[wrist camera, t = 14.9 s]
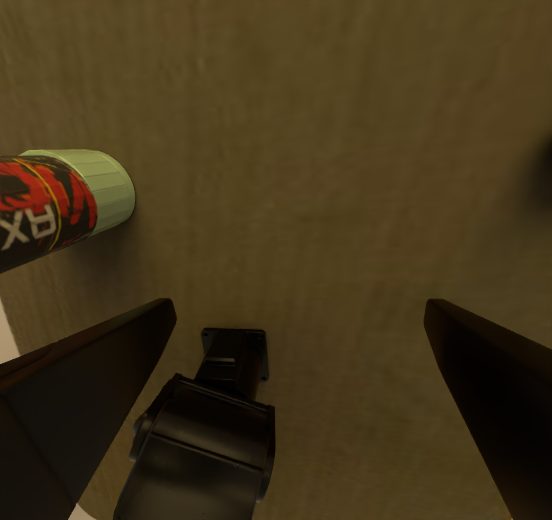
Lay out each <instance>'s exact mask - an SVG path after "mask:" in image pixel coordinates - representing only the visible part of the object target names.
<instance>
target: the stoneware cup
mask: <svg viewBox="0 0 552 520" xmlns="http://www.w3.org/2000/svg"><path fill="white" fill-rule="evenodd" d="M26 155H44V156H49V157H54V158H56V159H59V160H61V161H63V162H65V163H67V164H68V165H69V166H71V167H72V168H73V169H75V170H76V171H77V172H78V173H79V174H80V175H81V177H82V178H83V179H84V180H85V181H86V183H87V184H88V186H89V188H90V189H91V191H92V193H93V195H94V198H95V201H96V204H97V212H98V218H97V224H96V227H95V229H94V231H93V233H92V234H91V235H90V236H92V235H95V234H97V233H100V232H102V231H105V230H107V229H109V228H112V227H114V226H117V225H119V224H121V223H123V222H125V221H126V220H127V219H128V218H129V217H130V215H131V214H132V212H133V210H134V206H135V190H134V187H133V184H132V181H131V179H130V177H129V175H128V174H127V172H126V171H125V169H124V168H123V167H122V166H121V165H120V164H119V163H118V162H117V161H116V160H115V159H113V158H112V157H110V156H109V155H107V154H105V153H103V152H100V151H96V150H29V151H27V152H24V153H22V154H20V155H18V156H26ZM90 236H89V237H90Z"/></svg>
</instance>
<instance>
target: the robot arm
mask: <svg viewBox="0 0 552 520" xmlns="http://www.w3.org/2000/svg"><path fill="white" fill-rule="evenodd" d="M176 321H177V316H176V312H175V309H174V305H173V302H172V300H171V299H170V298H159V299H157V300H154V301H152V302H149V303H147V304H145V305H142V306H140V307H138V308H135V309H133V310H130V311H128V312H126V313H123V314H121V315H119V316H116V317H114V318H111V319H109V320H107V321H104V322H102V323H99V324H97V325H95V326H92V327H90V328H88V329H85V330H83V331H80V332H78V333H76V334H73V335H71V336H69V337H66V338H64V339H61V340H59V341H57V342H54V343H52V344H49V345H47V346H45V347H42V348H40V349H37V350H35V351H32V352H30V353H28V354H25V355H23V356H20V357H18V358H15V359H12V360H10V361H8V362H5V363H2V364H0V520H68V518H69V517H70V515H71V513H72V511H73V510H74V508H75V506H76V503H77V502H78V501H79V499H80V497H81V495H82V494H83V492H84V490H85V488H86V487H87V485H88V483H89V481H90V480H91V478H92V476H93V475H94V473H95V471H96V469H97V468H98V466H99V464H100V462H101V461H102V459H103V457H104V455H105V454H106V452H107V450H108V448H109V447H110V445H111V443H112V441H113V440H114V438H115V436H116V434H117V433H118V431H119V429H120V427H121V426H122V424H123V422H124V420H125V419H126V417H127V415H128V413H129V412H130V410H131V408H132V407H133V405H134V403H135V401H136V400H137V398H138V396H139V394H140V393H141V391H142V389H143V387H144V386H145V384H146V382H147V380H148V379H149V377H150V375H151V373H152V372H153V370H154V368H155V366H156V365H157V363H158V361H159V359H160V357H161V355H162V353H163V351H164V349H165V347H166V344H167V342H168V340H169V338H170V335H171V333H172V331H173V329H174V326H175V324H176ZM424 328H425V331H426V333H427V336H428V339H429V342H430V345H431V348H432V350H433V353H434V356H435V359H436V362H437V364H438V367H439V369H440V372H441V374H442V376H443V378H444V380H445V382H446V384H447V386H448V388H449V390H450V392H451V394H452V396H453V398H454V400H455V402H456V404H457V406H458V409H459V411H460V413H461V415H462V417H463V419H464V421H465V423H466V425H467V427H468V429H469V431H470V433H471V435H472V437H473V439H474V441H475V443H476V445H477V447H478V449H479V451H480V453H481V455H482V457H483V459H484V461H485V463H486V465H487V467H488V469H489V471H490V473H491V476H492V478H493V480H494V482H495V484H496V486H497V488H498V490H499V492H500V494H501V496H502V498H503V500H504V502H505V504H506V506H507V508H508V510H509V512H510V514H511V516H512V518H513V520H552V349H549V348H547V347H545V346H543V345H541V344H539V343H536V342H534V341H532V340H530V339H528V338H526V337H524V336H521V335H519V334H517V333H515V332H513V331H511V330H508V329H506V328H504V327H502V326H500V325H498V324H496V323H493V322H491V321H489V320H487V319H485V318H483V317H480V316H478V315H476V314H474V313H472V312H470V311H468V310H465V309H463V308H461V307H459V306H457V305H455V304H452V303H450V302H448V301H446V300H444V299H429V300H428V301H427V303H426V309H425V315H424ZM206 333H208V334H206ZM259 334H261V335H262V336H260V335H259ZM201 337H202V342H203V347H204V352H205V357H204V359H203V362H202V364H201V366H200V368H199V370H198V372H197V374H196V376H195V378H194V380H193V379H190V378H187V377H184V376H182V374H179V373H175V375H174V376H173V378H172V379H171V380H170V379H169V381H168V382H167V383H166V385H164V386H163V388H162V390H161V391H160V393H159V394H158V396H157V397H156V399H155V400H154V401H153V403H152V404H151V405H150V407H149V408H148V409H147V410H146V411H145V412H144V413H143V414H142V415H141V416H140V417H139V418H138V419H137V420H136V421H135V423H134V425H133V428H132V430H133V434H134V440H133V443H132V448H131V451H130V454H129V460H130V461H133V462H135V464H134V466H133V468H132V470H131V473H130V475H129V477H128V479H127V481H126V483H125V486H124V488H123V490H122V492H121V494H120V497H119V499H118V502H117V506H116V508H115V511H114V515H113V520H252V517H253V512H254V508H255V504H256V502H258V503H260V502H261V501H262V500H263V498H264V496H265V493H266V491H267V488H268V485H269V482H270V478H271V474H272V469H273V464H274V458H275V407H274V406H271V405H268V406H267V405H265V404H262V403H259V402H256V401H255V399H256V394H257V389H258V384H259V382H266V381H267V380H268V377H269V372H268V358H267V344H266V333H265V331H263V330H253V329H222V328H204V329H203V331H202V332H201Z"/></svg>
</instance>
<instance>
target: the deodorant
mask: <svg viewBox="0 0 552 520" xmlns="http://www.w3.org/2000/svg"><path fill="white" fill-rule="evenodd" d="M97 218H98V212H97V204H96V201H95V198H94V195H93V193H92V191H91V189H90V188H89V186H88V184H87V183H86V181H85V180H84V179H83V178H82V177H81V175H80V174H79V173H78V172H77V171H76V170H75V169H73V168H72V167H71V166H69V165H68V164H67V163H65V162H63V161H61V160H59V159H56V158H54V157H49V156H44V155H26V156H0V274H1V273H3V272H6V271H8V270H11V269H13V268H16V267H18V266H21V265H23V264H26V263H28V262H30V261H33V260H35V259H38V258H40V257H43V256H45V255H48V254H50V253H53V252H55V251H58V250H60V249H63V248H65V247H68V246H70V245H73V244H75V243H78V242H80V241H83V240H85V239H86V238H88V237H89V236H90V235H91V234H92V233H93V231H94V229H95V227H96V224H97Z"/></svg>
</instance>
